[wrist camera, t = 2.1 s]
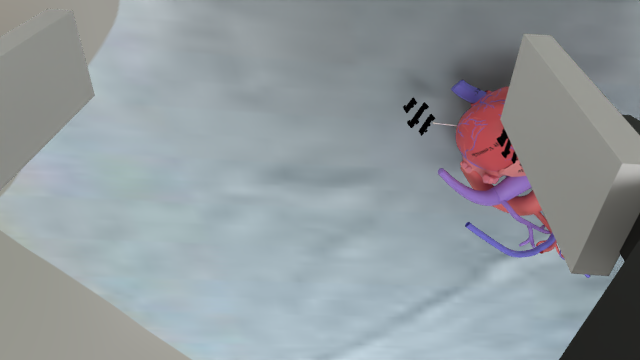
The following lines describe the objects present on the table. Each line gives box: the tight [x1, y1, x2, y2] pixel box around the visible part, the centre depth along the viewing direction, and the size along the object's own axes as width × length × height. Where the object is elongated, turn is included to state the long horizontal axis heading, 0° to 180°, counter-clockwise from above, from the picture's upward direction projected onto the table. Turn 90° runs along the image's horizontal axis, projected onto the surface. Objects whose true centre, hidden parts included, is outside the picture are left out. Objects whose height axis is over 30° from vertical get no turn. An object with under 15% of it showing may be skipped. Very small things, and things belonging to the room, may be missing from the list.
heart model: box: [403, 80, 590, 278], centre depth 38 cm, size 17×10×20 cm
